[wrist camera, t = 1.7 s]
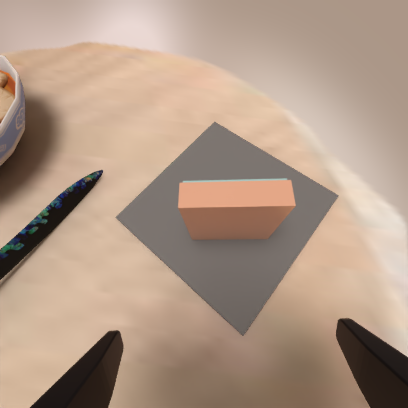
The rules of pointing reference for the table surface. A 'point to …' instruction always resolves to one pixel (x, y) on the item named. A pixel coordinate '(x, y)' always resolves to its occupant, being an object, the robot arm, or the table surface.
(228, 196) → the tile
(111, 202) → the table surface
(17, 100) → the ramen bowl
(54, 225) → the knife
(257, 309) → the mat
